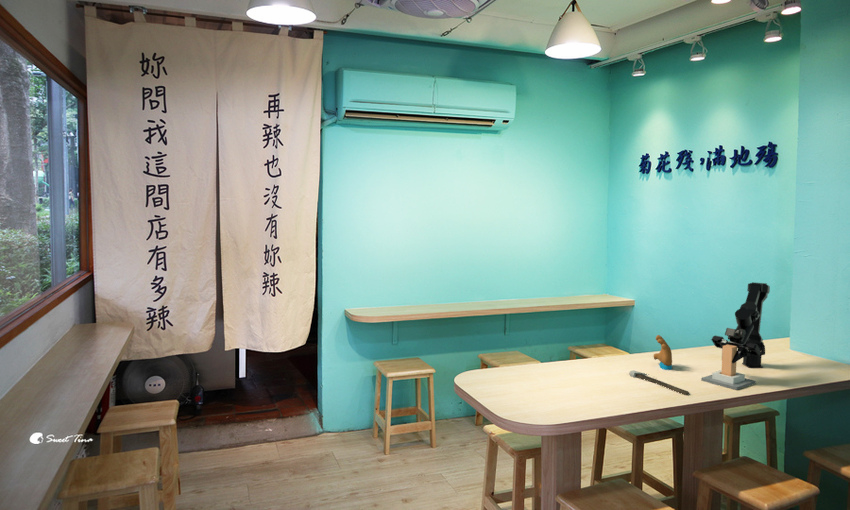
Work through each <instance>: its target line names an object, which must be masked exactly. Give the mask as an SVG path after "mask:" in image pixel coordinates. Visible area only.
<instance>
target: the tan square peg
mask: <svg viewBox="0 0 850 510" xmlns="http://www.w3.org/2000/svg"><path fill="white" fill-rule="evenodd" d="M737 350H738V348H737V346H732V345H724V346H723V351H722V350H721V370H722V372H721V374H724V375H727V376H731V377H732V376H735V375H736V372H737V362H738V361H736V362H735V363H732V360H733V358H734V356H735V354H736V352H737Z"/></svg>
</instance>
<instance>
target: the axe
mask: <svg viewBox="0 0 850 510" xmlns="http://www.w3.org/2000/svg"><path fill="white" fill-rule="evenodd" d="M628 373H629V374H628V376H629V375H630V376H629V377H632V378H638V379H640V378H641V380H643V379H645V380H644V381H647V380H648V382H650V381H651V383H653V382H654V384H656V383H657V384H656V385H658V386H661V385H662V386H661V387H663V386H664V387H663V388H665V387H666V389H668V388H669V389H668V390H670V389H671V390H670V391H673V390H674V391H673V392H675V391H676V393H678V392H679V393H678V394H681V393H682V394H681V395H685V396H689V395H690V392H689V391H688V390H685V389H683V388H679V387H677V386H675V385H672V384H670V383H667V382H665V381H662V380H659V379H657V378H654V377H651V376H648V375H647V374H648V373H646V374H645V373H644V372H641V371H637V370H629V372H628ZM688 394H689V395H688Z"/></svg>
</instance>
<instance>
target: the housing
mask: <svg viewBox="0 0 850 510" xmlns="http://www.w3.org/2000/svg"><path fill="white" fill-rule="evenodd" d="M721 372H722V369H720V370H718V371H714V372H712V374H710V375H706V376H704V377H703V376H702V377H701V378H700V379H701V381H702V382H704V383H705V382H706V383H709V384H712V385H715V386H719V385H720V386H719V387H724V388H726V389H730V388H731V390H734V389H735V390H734V391H738V390H741V389H744V388H747V387H749V385H750V386H752V384H753V385H755V384H756V380H754V379H749V378H745V376H746V374H745V373H741V372H737V371H736V375H735V376H732V377H731V376H727V375H724V374H721ZM743 387H744V388H743Z"/></svg>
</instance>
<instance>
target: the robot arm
mask: <svg viewBox="0 0 850 510" xmlns="http://www.w3.org/2000/svg"><path fill="white" fill-rule="evenodd" d="M770 286H771V285H768V283H766V282H765V283H764V282H750V283H747V290H746V292H748V293H747V296H746V300H745V302H744V303H743V304H741V305H740V307H739V309H737V310H736V311H735V312H734V316H735V321H736V324H737V326H736V327H735V328H730V327H726V329H725V332H724V336H727V339H725V338H724V336H720V335H713V336H712V337H711V339H710V340H711V342H712V343H713V344H714V347H716V348H718V349H722V350H721V352H722V351H723V346H724V345H732V346H737V352H736V354H735V356H734V358H733V360H732V363H735V362H736V361H737V362H738V361H739V360H741V359H742V363H741V365H743V366H745V367H747V368H753V369H754V368H755V369H756V368H757V369H758V368H760V369H762V368H764V366H762V356H765V355H766V345H765V344H764V342H763V337H762V335H761V333H760V332H761V331H760V330H761V322H762V321H761V320H762V314H763V305H764V302H765V301H766V300H767V298H768V295H769V294H770V292H771V291H770V290H771V289H770V288H771V287H770ZM737 362H736V363H737Z"/></svg>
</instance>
